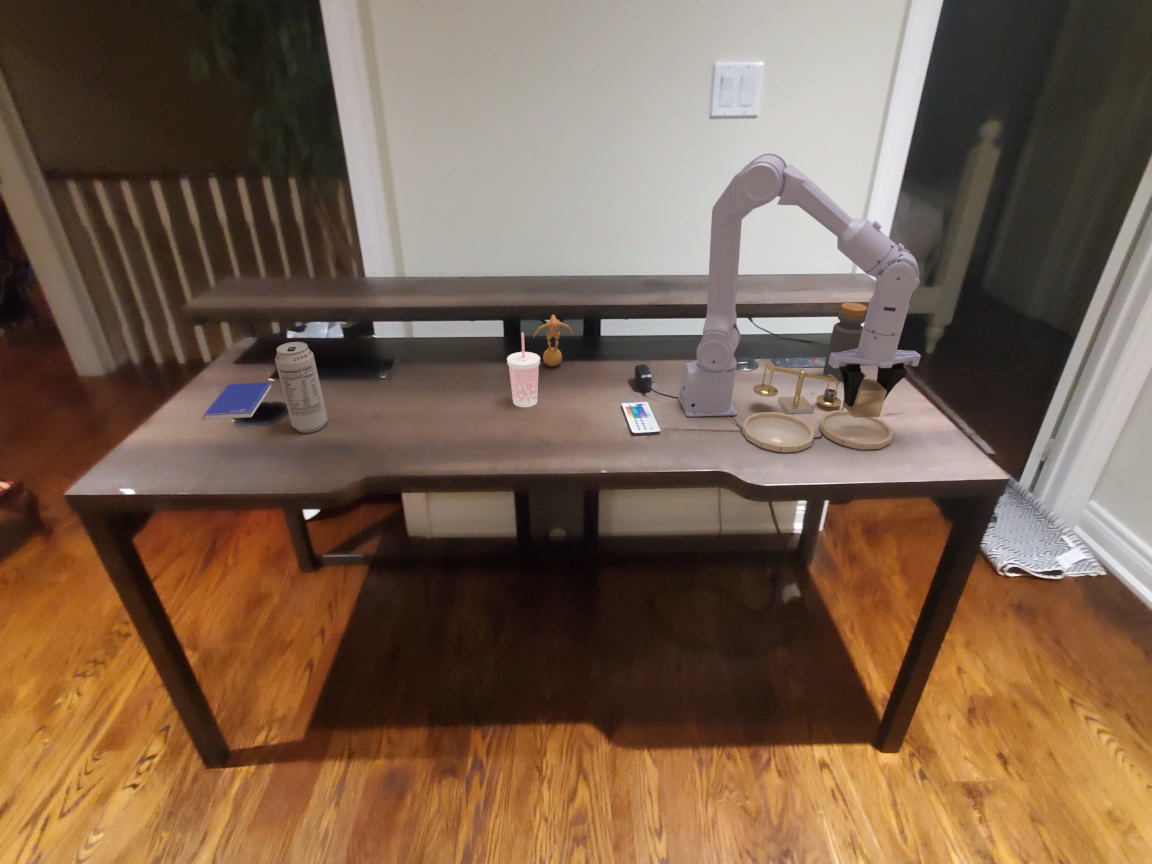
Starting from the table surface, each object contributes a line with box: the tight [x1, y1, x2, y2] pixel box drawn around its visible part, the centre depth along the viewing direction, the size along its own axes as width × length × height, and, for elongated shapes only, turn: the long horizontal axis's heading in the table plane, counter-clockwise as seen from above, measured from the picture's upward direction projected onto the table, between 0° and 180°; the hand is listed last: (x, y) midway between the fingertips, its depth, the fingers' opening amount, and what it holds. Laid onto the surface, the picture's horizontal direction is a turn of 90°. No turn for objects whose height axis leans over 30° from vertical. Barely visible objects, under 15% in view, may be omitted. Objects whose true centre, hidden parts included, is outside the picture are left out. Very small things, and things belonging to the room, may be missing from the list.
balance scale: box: [752, 361, 842, 415], centre depth 119 cm, size 17×5×9 cm, turn 94°
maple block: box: [842, 378, 887, 418], centre depth 109 cm, size 4×4×5 cm
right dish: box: [818, 409, 894, 451], centre depth 112 cm, size 12×12×1 cm
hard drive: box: [203, 382, 272, 420], centre depth 120 cm, size 2×8×12 cm
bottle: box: [823, 302, 868, 382], centre depth 129 cm, size 6×6×15 cm
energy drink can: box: [274, 341, 328, 434], centre depth 109 cm, size 6×6×15 cm
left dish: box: [741, 411, 815, 453], centre depth 111 cm, size 12×12×1 cm
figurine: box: [532, 314, 574, 367], centre depth 132 cm, size 8×6×12 cm
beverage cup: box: [506, 332, 541, 408], centre depth 118 cm, size 6×6×14 cm
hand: (862, 403), depth 110 cm, fingers closed on maple block, 4 cm apart
